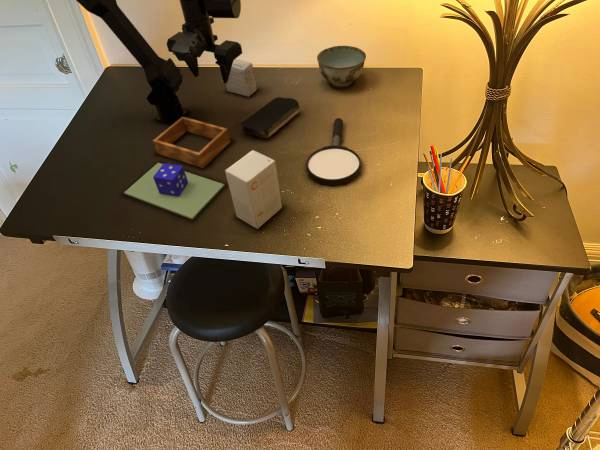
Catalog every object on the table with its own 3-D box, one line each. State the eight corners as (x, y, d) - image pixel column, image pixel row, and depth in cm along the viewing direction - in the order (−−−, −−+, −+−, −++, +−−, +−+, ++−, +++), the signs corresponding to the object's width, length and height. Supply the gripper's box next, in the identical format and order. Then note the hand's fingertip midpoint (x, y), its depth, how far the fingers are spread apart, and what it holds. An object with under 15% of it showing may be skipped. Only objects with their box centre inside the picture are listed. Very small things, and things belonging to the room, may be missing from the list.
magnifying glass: (362, 125, 118) (363, 117, 117) (359, 186, 102) (359, 179, 100) (314, 124, 120) (314, 117, 118) (304, 185, 104) (303, 178, 102)
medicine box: (257, 90, 134) (252, 62, 128) (248, 97, 132) (243, 69, 126) (236, 84, 138) (230, 57, 131) (226, 91, 135) (221, 64, 129)
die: (188, 182, 107) (183, 165, 103) (178, 196, 103) (172, 180, 100) (169, 179, 108) (163, 162, 104) (159, 193, 105) (152, 176, 101)
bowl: (313, 93, 131) (312, 66, 125) (322, 70, 140) (321, 44, 134) (361, 95, 128) (362, 68, 122) (367, 72, 137) (368, 45, 131)
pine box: (157, 153, 116) (152, 140, 113) (186, 129, 123) (182, 116, 120) (203, 168, 111) (199, 155, 108) (230, 141, 118) (227, 128, 115)
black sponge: (265, 144, 116) (263, 131, 113) (240, 134, 119) (237, 122, 117) (303, 112, 124) (302, 100, 122) (278, 104, 128) (277, 92, 126)
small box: (261, 196, 102) (252, 148, 93) (282, 207, 99) (276, 159, 90) (235, 217, 98) (223, 169, 89) (257, 230, 95) (247, 182, 86)
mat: (124, 194, 106) (123, 192, 106) (158, 164, 113) (158, 162, 113) (192, 220, 99) (191, 218, 98) (224, 186, 106) (224, 184, 105)
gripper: (142, 25, 104) (162, 88, 115) (208, 37, 97) (222, 103, 108) (173, 6, 110) (189, 67, 122) (237, 16, 103) (248, 80, 115)
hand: (211, 79), depth 116 cm, fingers open, 9 cm apart
